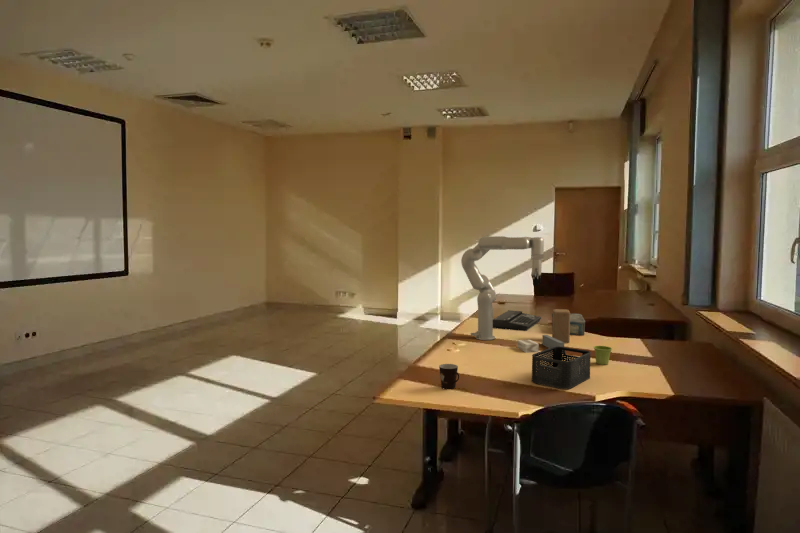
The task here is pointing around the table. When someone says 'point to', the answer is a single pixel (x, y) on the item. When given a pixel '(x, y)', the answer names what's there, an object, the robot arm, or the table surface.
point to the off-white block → (528, 346)
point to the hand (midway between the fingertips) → (536, 284)
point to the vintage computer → (515, 321)
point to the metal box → (576, 324)
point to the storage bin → (560, 367)
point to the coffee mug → (448, 375)
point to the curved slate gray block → (551, 342)
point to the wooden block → (561, 325)
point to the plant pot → (602, 354)
